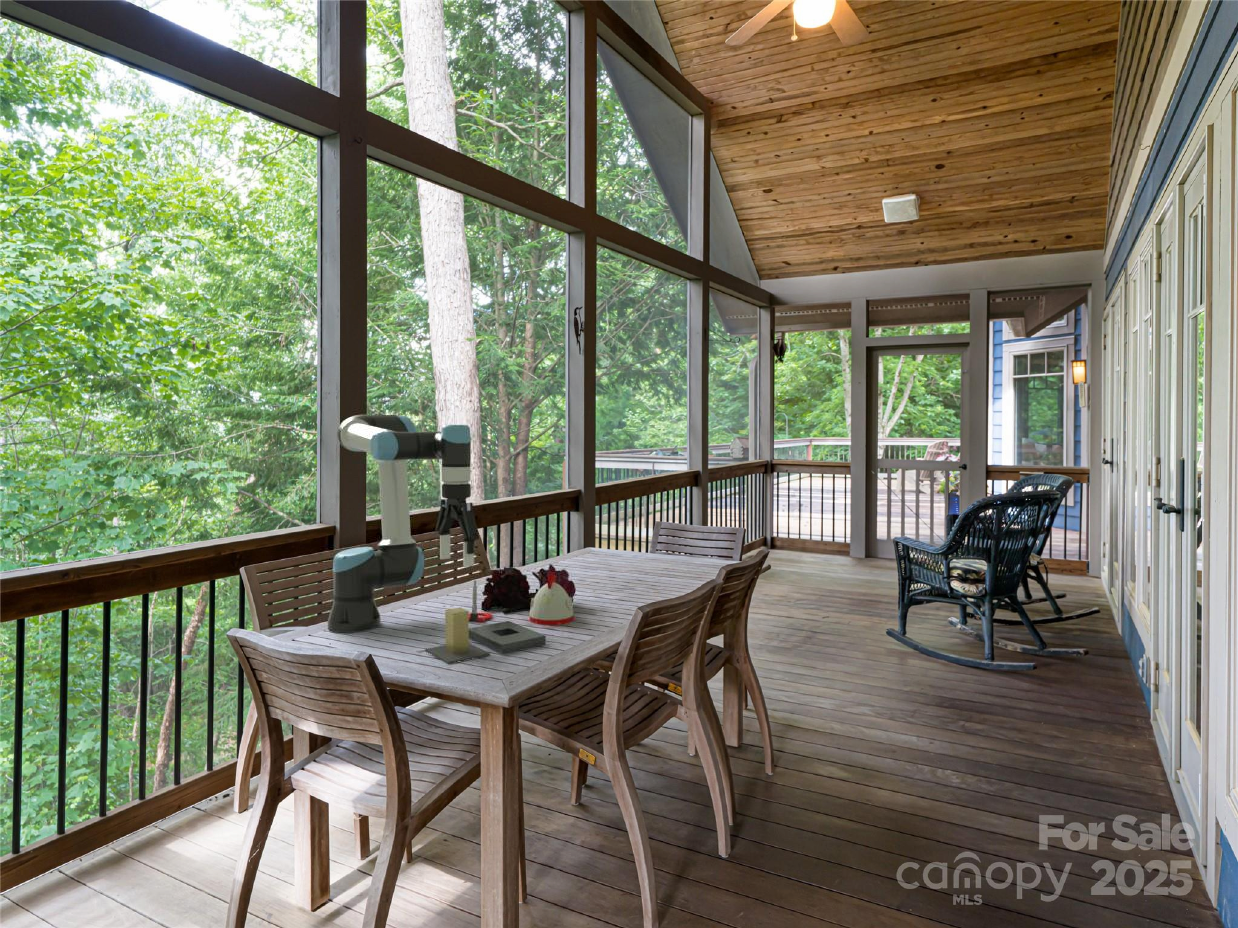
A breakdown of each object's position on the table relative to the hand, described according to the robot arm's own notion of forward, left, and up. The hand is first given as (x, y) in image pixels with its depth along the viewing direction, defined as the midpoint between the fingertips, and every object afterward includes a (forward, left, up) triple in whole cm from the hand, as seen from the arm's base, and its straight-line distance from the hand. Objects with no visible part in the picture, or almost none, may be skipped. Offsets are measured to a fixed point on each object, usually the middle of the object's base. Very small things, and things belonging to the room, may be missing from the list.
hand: (456, 562), depth 193 cm
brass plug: (0, 0, -24) cm, 24 cm away
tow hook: (-29, +22, -25) cm, 44 cm away
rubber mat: (0, 0, -24) cm, 25 cm away
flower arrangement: (-31, +43, -25) cm, 59 cm away
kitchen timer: (-13, +39, -25) cm, 48 cm away
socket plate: (-2, +16, -24) cm, 29 cm away
